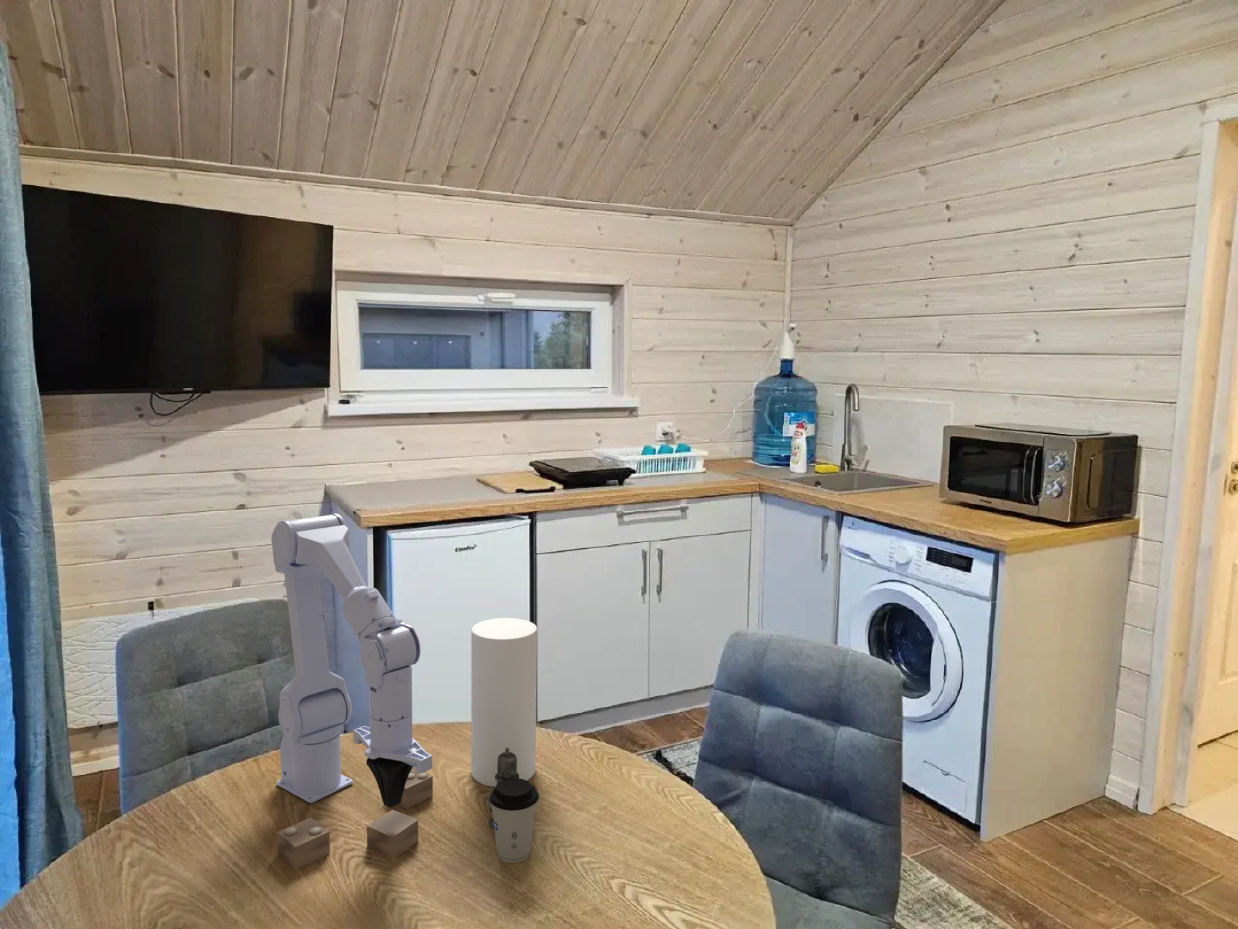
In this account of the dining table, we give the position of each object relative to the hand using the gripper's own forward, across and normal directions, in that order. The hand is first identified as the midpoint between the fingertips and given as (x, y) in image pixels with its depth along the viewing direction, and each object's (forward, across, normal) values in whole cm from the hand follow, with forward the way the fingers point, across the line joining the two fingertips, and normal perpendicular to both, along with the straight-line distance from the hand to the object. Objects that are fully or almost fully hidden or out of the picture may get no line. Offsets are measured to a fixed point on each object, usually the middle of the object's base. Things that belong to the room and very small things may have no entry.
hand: (392, 803), depth 119 cm
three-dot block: (+6, -8, +10) cm, 14 cm away
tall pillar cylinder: (+6, -2, +25) cm, 26 cm away
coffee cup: (+6, +15, +9) cm, 19 cm away
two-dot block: (+6, -8, -9) cm, 14 cm away
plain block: (+6, 0, 0) cm, 6 cm away
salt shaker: (+6, +9, +14) cm, 18 cm away
